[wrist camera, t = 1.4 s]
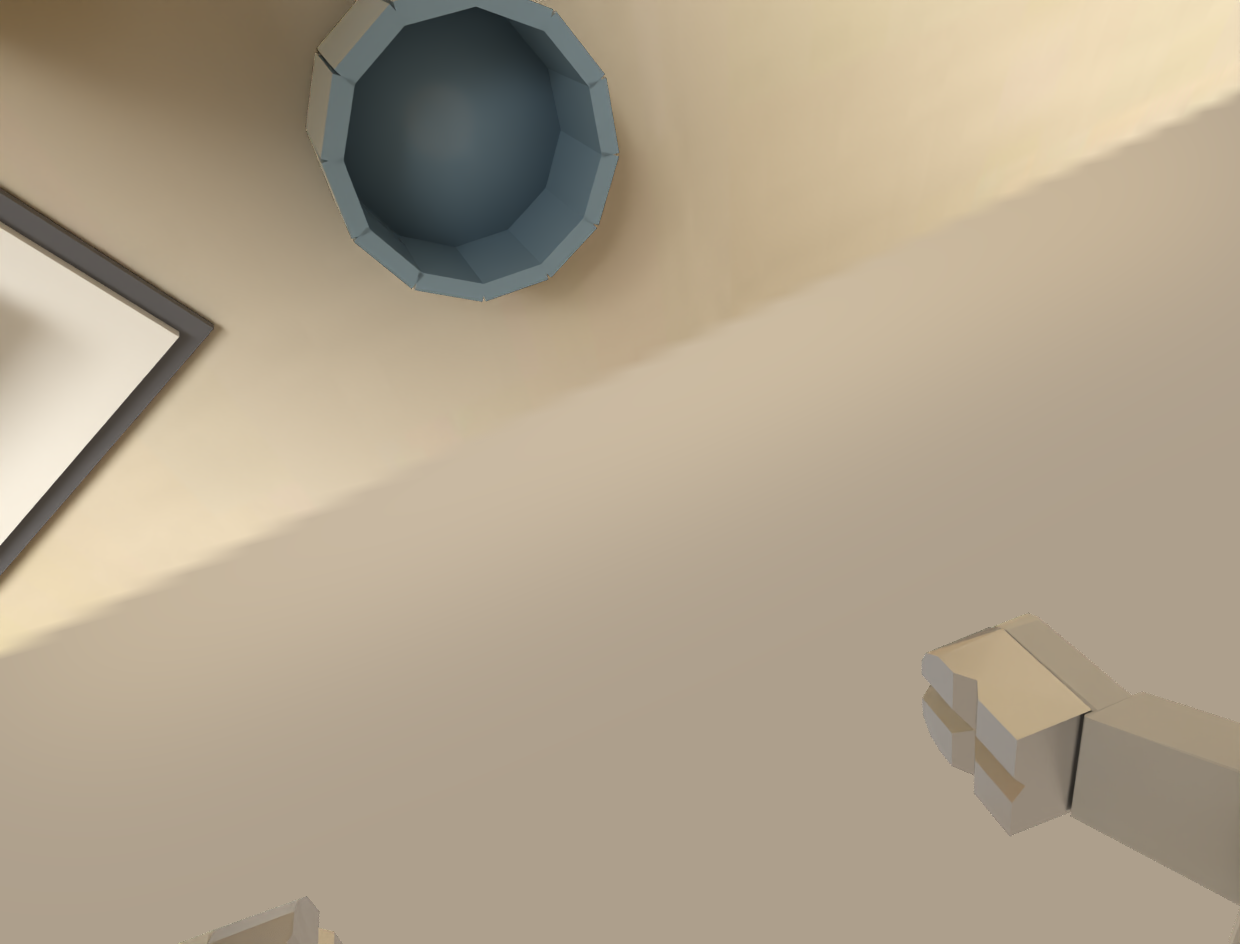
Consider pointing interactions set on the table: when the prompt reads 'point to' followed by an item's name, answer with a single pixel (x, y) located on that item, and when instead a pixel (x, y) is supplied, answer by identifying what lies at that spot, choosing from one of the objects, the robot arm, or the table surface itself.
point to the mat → (190, 337)
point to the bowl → (462, 140)
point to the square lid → (60, 366)
